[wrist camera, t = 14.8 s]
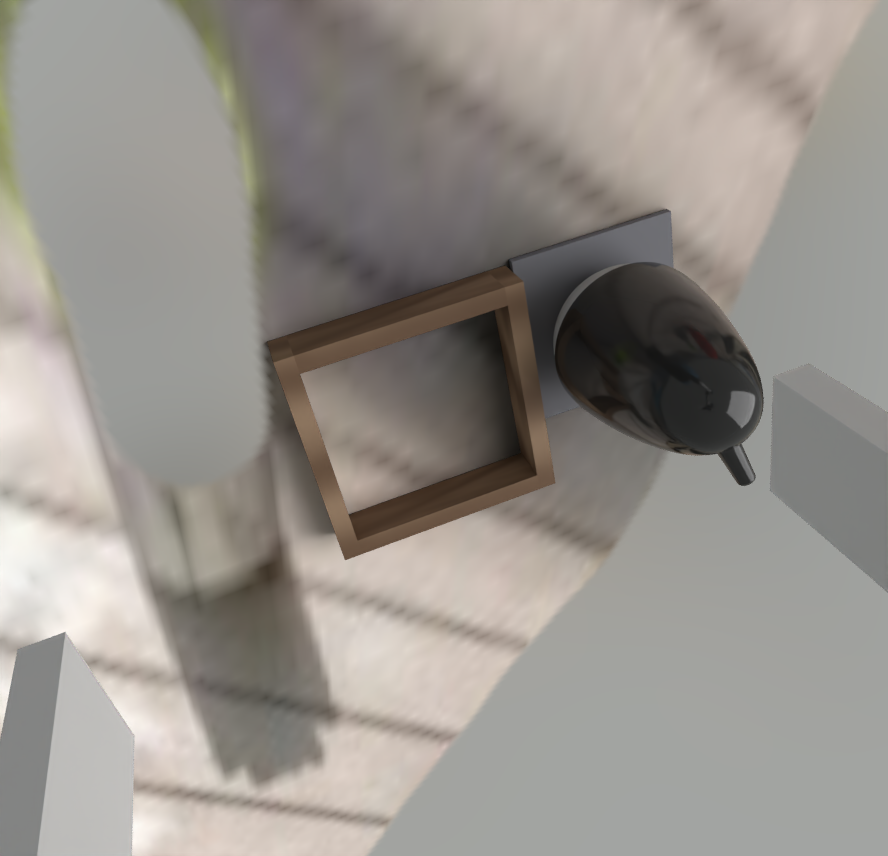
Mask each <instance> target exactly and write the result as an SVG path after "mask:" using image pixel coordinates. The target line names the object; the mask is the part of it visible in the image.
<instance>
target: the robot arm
mask: <svg viewBox="0 0 888 856" xmlns="http://www.w3.org/2000/svg"><path fill="white" fill-rule="evenodd" d="M770 480H771V481H770V491H771V492H772V493H773V494H774V495H775V496H777V497H778V498H779V499H780V500H781V501H783V502H784V503H785V504H786V505H787V506H788V507H790V508H791V509H792V510H793V511H794V512H795V513H796V514H797V515H799V516H800V517H801V518H802V519H803V520H804V521H806V522H807V523H808V524H809V525H810V526H811V527H812V528H814V529H815V530H816V531H817V532H818V533H819V534H821V535H822V536H823V537H824V538H825V539H826V540H828V541H829V542H830V543H831V544H832V545H833V546H834V547H836V548H837V549H838V550H839V551H840V552H841V553H843V554H844V555H845V556H846V557H847V558H848V559H849V560H851V561H852V562H853V563H854V564H855V565H857V566H858V567H859V568H860V569H861V570H862V571H863V572H865V573H866V574H867V575H868V576H869V577H870V578H871V579H873V580H874V581H875V582H876V583H877V584H878V585H880V586H881V587H882V588H883V589H884V590H885V591H886V592H888V412H887V411H885V410H883V409H882V408H880V407H878V406H877V405H875V404H873V403H872V402H870V401H869V400H867V399H866V398H864V397H862V396H861V395H859V394H858V393H856V392H854V391H852V390H851V389H849V388H848V387H846V386H845V385H843V384H841V383H840V382H838V381H836V380H835V379H833V378H832V377H830V376H828V375H827V374H825V373H824V372H822V371H820V370H819V369H817V368H816V367H814V366H812V365H811V364H806V365H804V366H800V367H798V368H795V369H792V370H789V371H787V372H784V373H781V374H778V375H776V376H773V403H772V442H771V478H770ZM133 777H134V734H133V733H132V731H131V730H130V728H129V727H128V725H127V724H126V722H125V721H124V719H123V718H122V716H121V715H120V713H119V712H118V710H117V709H116V707H115V706H114V704H113V703H112V701H111V700H110V698H109V697H108V695H107V694H106V692H105V691H104V689H103V688H102V686H101V685H100V683H99V682H98V680H97V679H96V677H95V676H94V674H93V673H92V671H91V670H90V668H89V667H88V665H87V664H86V662H85V661H84V659H83V658H82V656H81V655H80V653H79V652H78V650H77V649H76V647H75V646H74V644H73V643H72V641H71V640H70V638H69V637H68V635H67V634H66V632H64V633H62V634H59V635H56V636H53V637H51V638H48V639H45V640H42V641H39V642H37V643H34V644H31V645H28V646H26V647H23V648H20V649H18V650H17V656H16V661H15V666H14V671H13V676H12V681H11V687H10V692H9V697H8V702H7V707H6V713H5V718H4V723H3V728H2V733H1V739H0V856H132V823H133Z"/></svg>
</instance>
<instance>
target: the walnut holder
mask: <svg viewBox="0 0 888 856" xmlns="http://www.w3.org/2000/svg"><path fill="white" fill-rule="evenodd" d="M493 310H495V315H496V321H497V326H498V331H499V337H500V342H501V348H502V353H503V359H504V364H505V370H506V375H507V380H508V386H509V391H510V397H511V402H512V408H513V413H514V419H515V424H516V430H517V435H518V440H519V446H520V451H521V453H520V454H517V455H515V456H512V457H509V458H506V459H503V460H501V461H498V462H495V463H492V464H489V465H487V466H484V467H481V468H478V469H475V470H473V471H470V472H467V473H464V474H462V475H459V476H456V477H453V478H450V479H448V480H445V481H442V482H439V483H436V484H434V485H431V486H428V487H425V488H422V489H420V490H417V491H414V492H411V493H409V494H406V495H403V496H400V497H397V498H395V499H392V500H389V501H386V502H383V503H381V504H378V505H375V506H372V507H369V508H367V509H364V510H361V511H358V512H356V513H353V514H350V515H348V512H347V509H346V506H345V503H344V500H343V497H342V494H341V491H340V489H339V486H338V483H337V480H336V477H335V474H334V471H333V468H332V465H331V463H330V460H329V457H328V454H327V451H326V448H325V445H324V442H323V439H322V436H321V434H320V431H319V428H318V425H317V422H316V419H315V416H314V413H313V410H312V408H311V405H310V402H309V399H308V396H307V393H306V390H305V387H304V384H303V382H302V379H301V376H300V374H301V373H304V372H307V371H310V370H313V369H316V368H319V367H322V366H326V365H329V364H332V363H335V362H338V361H341V360H344V359H347V358H350V357H353V356H356V355H359V354H362V353H365V352H368V351H371V350H374V349H377V348H380V347H383V346H386V345H389V344H392V343H396V342H399V341H402V340H405V339H408V338H411V337H414V336H417V335H420V334H423V333H426V332H429V331H432V330H435V329H438V328H441V327H444V326H447V325H450V324H453V323H456V322H459V321H462V320H466V319H469V318H472V317H475V316H478V315H481V314H484V313H487V312H490V311H493ZM267 343H268V347H269V350H270V353H271V357H272V360H273V363H274V366H275V369H276V371H277V374H278V377H279V380H280V382H281V385H282V388H283V391H284V393H285V396H286V399H287V402H288V404H289V407H290V410H291V413H292V415H293V418H294V421H295V424H296V426H297V429H298V432H299V435H300V437H301V440H302V443H303V446H304V448H305V451H306V454H307V457H308V459H309V462H310V465H311V468H312V470H313V473H314V476H315V479H316V481H317V484H318V487H319V490H320V492H321V495H322V498H323V501H324V503H325V506H326V509H327V512H328V514H329V517H330V520H331V523H332V525H333V528H334V531H335V534H336V536H337V539H338V542H339V545H340V547H341V550H342V553H343V556H344V558H345V560H347V559H350V558H352V557H355V556H358V555H361V554H363V553H366V552H369V551H371V550H374V549H377V548H380V547H382V546H385V545H388V544H390V543H393V542H396V541H399V540H401V539H404V538H407V537H410V536H412V535H415V534H418V533H420V532H423V531H426V530H429V529H431V528H434V527H437V526H440V525H442V524H445V523H448V522H450V521H453V520H456V519H459V518H461V517H464V516H467V515H470V514H472V513H475V512H478V511H480V510H483V509H486V508H489V507H491V506H494V505H497V504H500V503H502V502H505V501H508V500H510V499H513V498H516V497H519V496H521V495H524V494H527V493H530V492H532V491H535V490H538V489H540V488H543V487H546V486H549V485H551V484H554V483H555V478H554V471H553V465H552V459H551V452H550V446H549V440H548V433H547V427H546V421H545V415H544V408H543V402H542V396H541V389H540V383H539V377H538V370H537V364H536V358H535V351H534V345H533V339H532V332H531V326H530V320H529V314H528V307H527V301H526V295H525V288H524V282H523V281H522V280H521V279H520V278H519V277H518V276H517V275H516V274H514V273H513V272H512V271H511V270H510V269H509V268H508V267H506V266H502V267H499V268H496V269H493V270H490V271H486V272H483V273H480V274H477V275H474V276H471V277H468V278H465V279H461V280H458V281H455V282H452V283H449V284H446V285H443V286H440V287H436V288H433V289H430V290H427V291H424V292H421V293H418V294H415V295H412V296H408V297H405V298H402V299H399V300H396V301H393V302H390V303H387V304H383V305H380V306H377V307H374V308H371V309H368V310H365V311H362V312H358V313H355V314H352V315H349V316H346V317H343V318H340V319H337V320H334V321H330V322H327V323H324V324H321V325H318V326H315V327H312V328H309V329H305V330H302V331H299V332H296V333H293V334H290V335H287V336H284V337H280V338H277V339H274V340H271V341H268V342H267Z"/></svg>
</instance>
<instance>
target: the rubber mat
mask: <svg viewBox="0 0 888 856" xmlns="http://www.w3.org/2000/svg"><path fill="white" fill-rule="evenodd" d="M636 262H656V263H661V264H665V265H668V266H670V267H672V268H673V247H672V226H671V211H669V210H667V209H666V210H663V211H659V212H656V213H653V214H650V215H647V216H644V217H641V218H637V219H634V220H631V221H628V222H625V223H622V224H619V225H616V226H612V227H609V228H606V229H603V230H600V231H597V232H594V233H591V234H587V235H584V236H581V237H578V238H575V239H572V240H569V241H566V242H562V243H559V244H556V245H553V246H550V247H547V248H544V249H540V250H537V251H534V252H531V253H528V254H525V255H522V256H519V257H515V258H512V259H509V263H510V269H511V271H512V272H513V273H514V274H516V275H517V276H518V277H519V278H520V279H521V280H522V281H523V282H524V288H525V295H526V301H527V307H528V314H529V320H530V326H531V332H532V339H533V345H534V351H535V358H536V364H537V370H538V377H539V383H540V389H541V396H542V402H543V408H544V415H545V419H546V418H549V417H551V416H554V415H557V414H560V413H563V412H565V411H568V410H571V409H574V408H577V407H580V406H579V405H578V404H577V403H576V402H575V401H574V400H573V399H572V398H571V397H570V396H569V395H568V393H567V392H566V391H565V389H564V388H563V386H562V384H561V382H560V380H559V378H558V375H557V371H556V366H555V355H554V348H553V336H554V329H555V324H556V321H557V318H558V315H559V313H560V310H561V308H562V306H563V304H564V303H565V301H566V300H567V298H568V297H569V295H570V294H571V293H572V292H573V291H574V290H575V288H576V287H577V286H579V285H580V284H581V283H582V282H583V281H584V280H586V279H587V278H588V277H590V276H591V275H593V274H595V273H597V272H599V271H601V270H603V269H606V268H608V267H612V266H615V265H620V264H630V263H636Z"/></svg>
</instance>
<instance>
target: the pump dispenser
mask: <svg viewBox="0 0 888 856" xmlns="http://www.w3.org/2000/svg"><path fill="white" fill-rule="evenodd" d="M553 348H554V355H555V366H556V371H557V375H558V378H559V380H560V382H561V384H562V386H563V388H564V389H565V391H566V392H567V393H568V395H569V396H570V397H571V398H572V399H573V400H574V401H575V402H576V403H577V404H578V405H579V406H580V407H582V408H583V409H584V410H586V411H587V412H588V413H590V414H591V415H593V416H594V417H596V418H597V419H599V420H600V421H602V422H603V423H605V424H607V425H608V426H610V427H612V428H613V429H615V430H617V431H619V432H621V433H623V434H625V435H627V436H629V437H631V438H634V439H636V440H638V441H641V442H643V443H646V444H648V445H651V446H654V447H657V448H660V449H663V450H666V451H670V452H674V453H679V454H686V455H695V456H702V455H713V454H718V455H719V457H720V458H721V460H722V461H723V463H724V464H725V465H726V467H727V469H728V470H729V471H730V473H731V474H732V476H733V477H734V479H735V480H736V482H737V483H738V484H739V485H741V486H746V485H749V484H751V483H752V482H753V481H754V480H755V478H756V477H755V473H754V471H753V469H752V467H751V464H750V462H749V460H748V457H747V455H746V453H745V451H744V449H743V446H742V443H743V442H744V441H745V440H746V439H747V438H748V437H749V436H750V435H751V434H752V433H753V432H754V430H755V429H756V427H757V426H758V423H759V422H760V419H761V416H762V412H763V404H764V400H763V399H764V397H763V389H762V383H761V378H760V375H759V372H758V369H757V366H756V364H755V362H754V359H753V357H752V355H751V353H750V351H749V350H748V348H747V346H746V344H745V343H744V341H743V339H742V338H741V336H740V335H739V333H738V332H737V330H736V329H735V327H734V326H733V325H732V323H731V322H730V320H729V319H728V318H727V316H726V315H725V314H724V312H723V311H722V310H721V309H720V308H719V306H718V305H717V304H716V303H715V302H714V301H713V300H712V299H711V298H710V297H709V296H708V295H707V294H706V293H705V292H704V291H703V290H702V289H701V288H700V287H699V286H698V285H697V284H696V283H695V282H694V281H692V280H691V279H690V278H689V277H687V276H686V275H684V274H683V273H681V272H680V271H678V270H676V269H674V268H672V267H670V266H668V265H665V264H661V263H656V262H636V263H630V264H620V265H615V266H612V267H608V268H606V269H603V270H601V271H599V272H597V273H595V274H593V275H591V276H590V277H588V278H587V279H586V280H584V281H583V282H582V283H581V284H580V285H579V286H577V287H576V288H575V290H574V291H573V292H572V293H571V294H570V295H569V297H568V298H567V300H566V301H565V303H564V304H563V306H562V308H561V310H560V313H559V315H558V318H557V321H556V324H555V329H554V336H553Z"/></svg>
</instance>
